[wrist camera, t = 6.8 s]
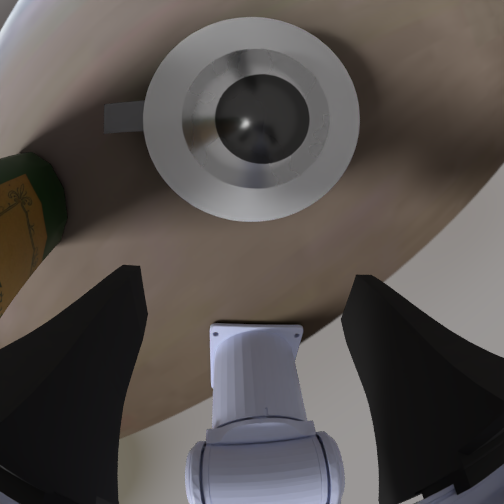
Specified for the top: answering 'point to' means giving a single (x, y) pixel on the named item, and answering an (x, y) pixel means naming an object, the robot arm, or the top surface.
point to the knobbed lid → (255, 118)
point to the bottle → (27, 219)
